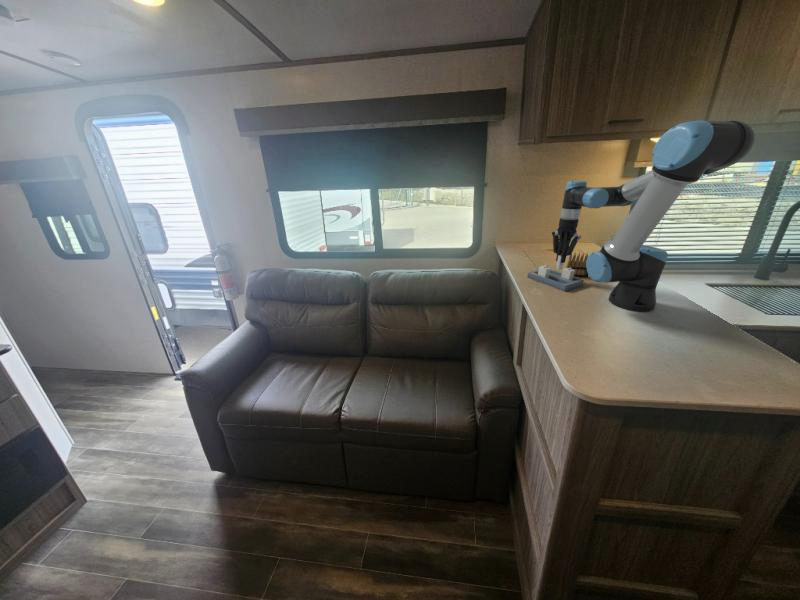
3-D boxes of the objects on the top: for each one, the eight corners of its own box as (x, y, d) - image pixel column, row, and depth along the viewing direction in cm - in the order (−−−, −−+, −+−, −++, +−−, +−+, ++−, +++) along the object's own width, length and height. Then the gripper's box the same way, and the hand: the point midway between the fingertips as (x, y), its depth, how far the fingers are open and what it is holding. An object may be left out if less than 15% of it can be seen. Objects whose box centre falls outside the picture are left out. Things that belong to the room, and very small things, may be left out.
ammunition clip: (564, 276, 149) (569, 253, 144) (563, 275, 151) (568, 251, 146) (588, 277, 147) (594, 253, 142) (586, 276, 149) (592, 252, 144)
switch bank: (582, 285, 138) (584, 279, 137) (564, 291, 132) (565, 285, 131) (545, 272, 154) (546, 267, 153) (527, 277, 148) (528, 271, 147)
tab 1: (548, 278, 143) (550, 266, 141) (544, 279, 142) (546, 268, 139) (541, 275, 146) (543, 264, 144) (537, 276, 145) (539, 265, 143)
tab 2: (572, 280, 140) (575, 268, 138) (568, 281, 139) (571, 270, 136) (564, 277, 143) (567, 266, 141) (560, 278, 142) (563, 267, 140)
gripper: (588, 219, 130) (576, 271, 140) (561, 215, 140) (551, 263, 150) (578, 221, 127) (566, 273, 137) (550, 217, 137) (541, 266, 147)
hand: (558, 268), depth 143 cm, fingers closed
